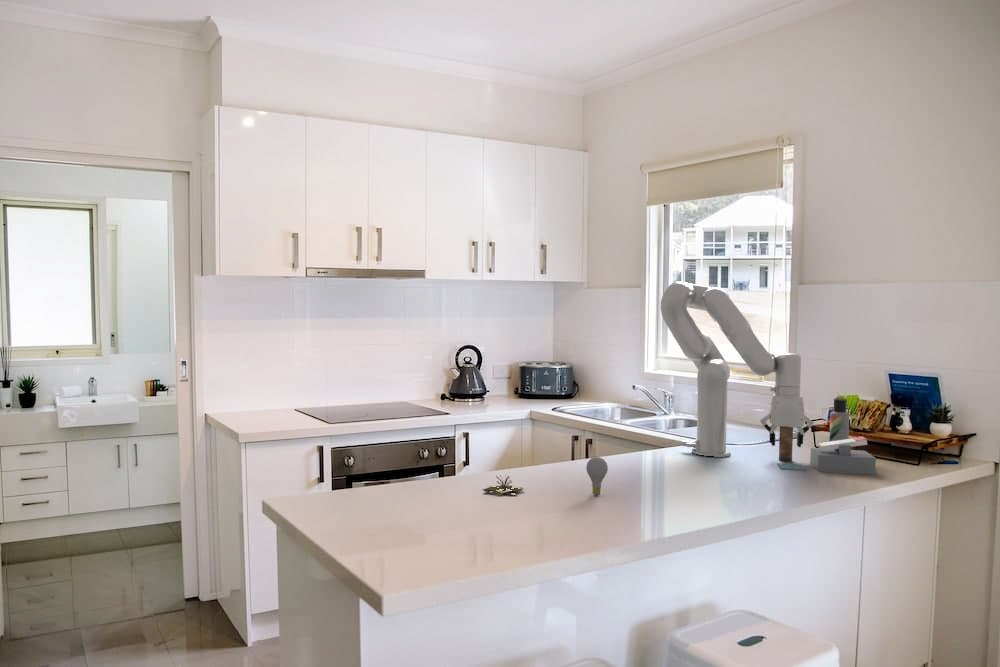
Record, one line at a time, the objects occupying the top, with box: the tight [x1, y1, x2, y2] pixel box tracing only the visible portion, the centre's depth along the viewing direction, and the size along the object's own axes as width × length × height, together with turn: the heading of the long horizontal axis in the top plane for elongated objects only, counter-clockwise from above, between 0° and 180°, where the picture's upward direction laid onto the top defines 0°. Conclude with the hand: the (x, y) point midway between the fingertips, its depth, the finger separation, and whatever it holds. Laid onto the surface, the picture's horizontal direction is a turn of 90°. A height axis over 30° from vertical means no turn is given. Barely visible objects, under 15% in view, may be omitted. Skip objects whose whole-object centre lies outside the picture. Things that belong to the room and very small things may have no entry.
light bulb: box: [585, 456, 609, 496], centre depth 194 cm, size 5×6×10 cm
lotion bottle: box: [828, 396, 850, 442], centre depth 248 cm, size 6×6×20 cm
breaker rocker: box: [817, 435, 868, 451], centre depth 231 cm, size 13×5×2 cm, turn 78°
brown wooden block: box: [778, 427, 794, 463], centre depth 243 cm, size 4×4×14 cm
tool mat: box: [777, 462, 806, 471], centre depth 232 cm, size 7×7×1 cm
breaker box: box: [809, 445, 877, 476], centre depth 231 cm, size 16×12×8 cm
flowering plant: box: [482, 474, 523, 497], centre depth 197 cm, size 12×12×5 cm
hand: (785, 445), depth 243 cm, fingers open, 7 cm apart
